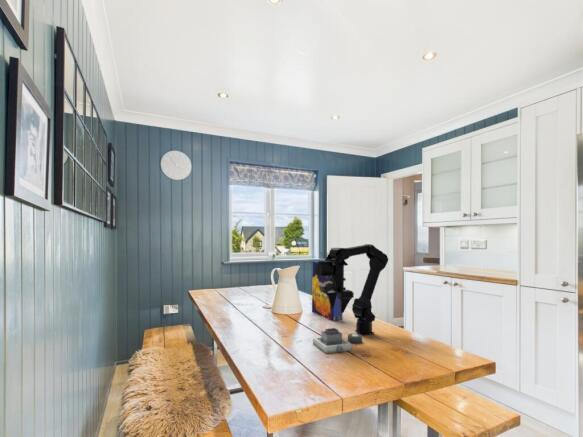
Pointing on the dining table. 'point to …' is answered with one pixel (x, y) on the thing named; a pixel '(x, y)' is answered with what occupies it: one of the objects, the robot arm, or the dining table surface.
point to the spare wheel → (355, 338)
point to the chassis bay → (332, 346)
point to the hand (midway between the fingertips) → (337, 310)
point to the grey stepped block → (331, 337)
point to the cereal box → (323, 299)
